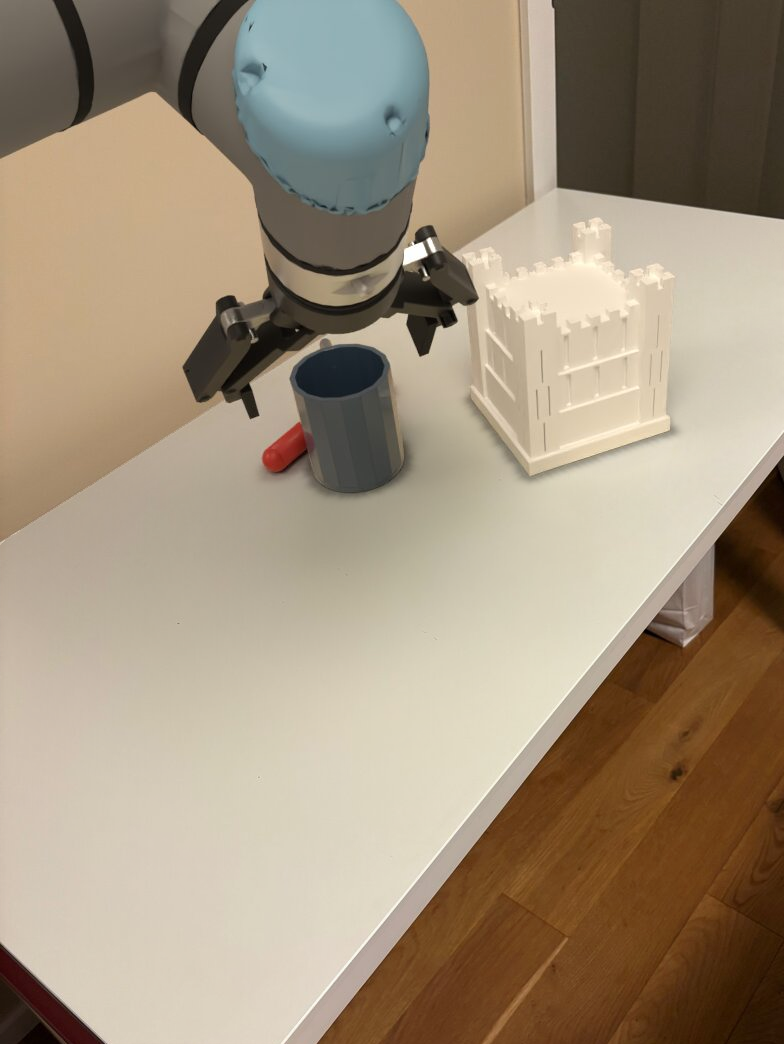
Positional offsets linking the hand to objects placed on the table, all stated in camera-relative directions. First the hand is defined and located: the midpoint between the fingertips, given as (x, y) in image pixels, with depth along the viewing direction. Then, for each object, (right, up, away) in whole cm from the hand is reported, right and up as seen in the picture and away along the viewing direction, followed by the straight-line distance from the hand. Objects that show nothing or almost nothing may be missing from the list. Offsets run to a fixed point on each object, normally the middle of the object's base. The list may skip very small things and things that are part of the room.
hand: (333, 369), depth 71 cm
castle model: (+20, 0, +20) cm, 28 cm away
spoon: (-3, 0, +22) cm, 23 cm away
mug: (-1, -3, +19) cm, 19 cm away
